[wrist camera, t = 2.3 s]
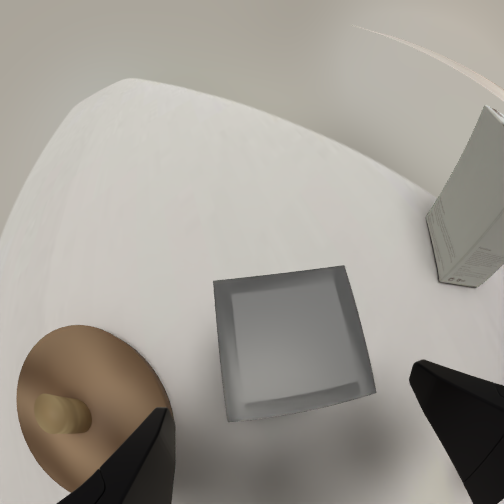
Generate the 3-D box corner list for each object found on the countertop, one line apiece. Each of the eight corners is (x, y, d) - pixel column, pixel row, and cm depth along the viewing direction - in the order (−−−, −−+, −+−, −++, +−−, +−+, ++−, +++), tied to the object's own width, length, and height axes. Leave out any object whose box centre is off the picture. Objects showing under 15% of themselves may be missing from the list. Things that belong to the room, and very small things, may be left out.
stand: (147, 527, 10) (121, 552, 6) (15, 435, 12) (-23, 430, 8) (201, 373, 17) (185, 362, 13) (58, 306, 19) (25, 280, 15)
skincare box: (476, 289, 20) (572, 195, 8) (434, 283, 21) (538, 167, 8) (460, 223, 25) (526, 126, 12) (421, 212, 25) (485, 98, 12)
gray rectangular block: (313, 400, 16) (376, 392, 8) (239, 411, 16) (227, 422, 7) (300, 332, 19) (344, 265, 10) (230, 342, 18) (213, 280, 10)
